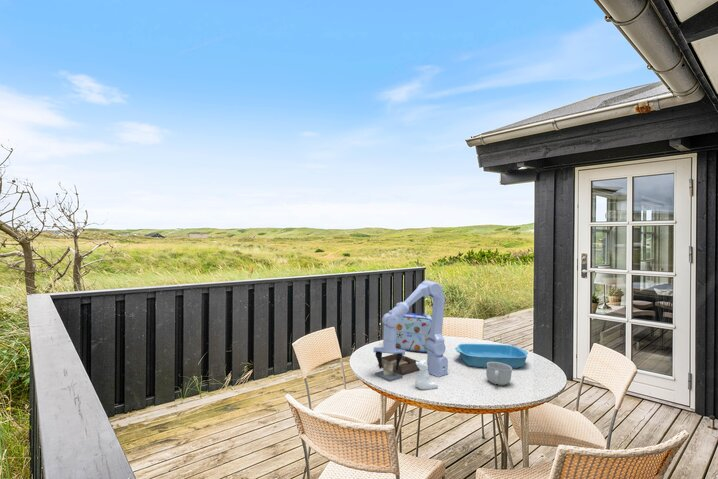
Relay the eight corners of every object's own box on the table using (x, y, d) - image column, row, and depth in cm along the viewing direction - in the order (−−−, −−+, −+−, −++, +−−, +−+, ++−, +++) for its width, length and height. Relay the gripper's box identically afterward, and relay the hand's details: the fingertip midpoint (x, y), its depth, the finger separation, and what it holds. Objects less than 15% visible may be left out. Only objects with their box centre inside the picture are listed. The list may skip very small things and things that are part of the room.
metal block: (393, 372, 173) (393, 362, 173) (392, 376, 169) (392, 365, 169) (385, 372, 174) (385, 361, 174) (383, 375, 170) (383, 364, 170)
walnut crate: (420, 369, 181) (420, 361, 181) (401, 375, 173) (401, 367, 173) (396, 360, 193) (397, 353, 193) (378, 365, 185) (378, 357, 185)
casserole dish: (461, 369, 184) (461, 354, 184) (450, 355, 207) (451, 342, 207) (535, 371, 183) (536, 357, 183) (517, 357, 206) (517, 344, 206)
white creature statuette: (439, 388, 160) (439, 360, 160) (427, 393, 154) (427, 364, 154) (421, 381, 167) (422, 354, 167) (409, 386, 161) (409, 358, 161)
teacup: (491, 376, 175) (491, 359, 175) (514, 382, 168) (515, 365, 168) (479, 385, 164) (480, 367, 164) (504, 392, 157) (505, 373, 157)
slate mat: (402, 377, 170) (402, 375, 170) (389, 381, 165) (389, 379, 165) (387, 371, 178) (387, 369, 178) (374, 374, 173) (374, 372, 173)
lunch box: (437, 349, 215) (438, 311, 215) (435, 355, 205) (436, 315, 205) (390, 344, 223) (391, 308, 223) (387, 349, 213) (388, 311, 213)
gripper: (406, 338, 174) (405, 367, 174) (375, 336, 177) (374, 364, 177) (404, 342, 167) (403, 372, 167) (372, 340, 170) (372, 369, 170)
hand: (388, 369), depth 172 cm, fingers open, 7 cm apart
